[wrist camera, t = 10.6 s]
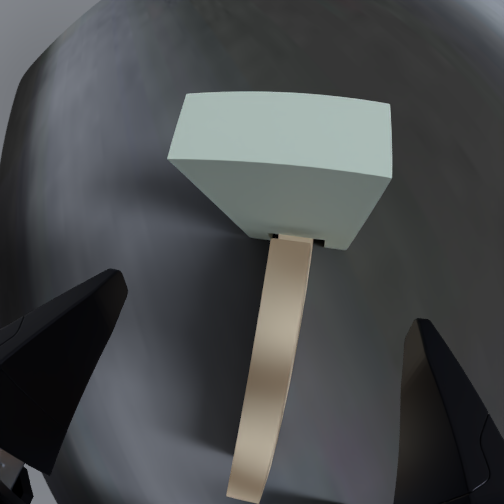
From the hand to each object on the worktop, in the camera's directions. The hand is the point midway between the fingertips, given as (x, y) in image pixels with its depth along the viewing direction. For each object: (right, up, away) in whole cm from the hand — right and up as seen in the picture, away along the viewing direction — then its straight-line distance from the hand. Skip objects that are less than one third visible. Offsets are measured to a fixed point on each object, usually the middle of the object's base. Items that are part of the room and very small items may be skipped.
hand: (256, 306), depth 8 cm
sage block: (+3, +3, +12) cm, 13 cm away
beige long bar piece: (+2, -3, +11) cm, 12 cm away
